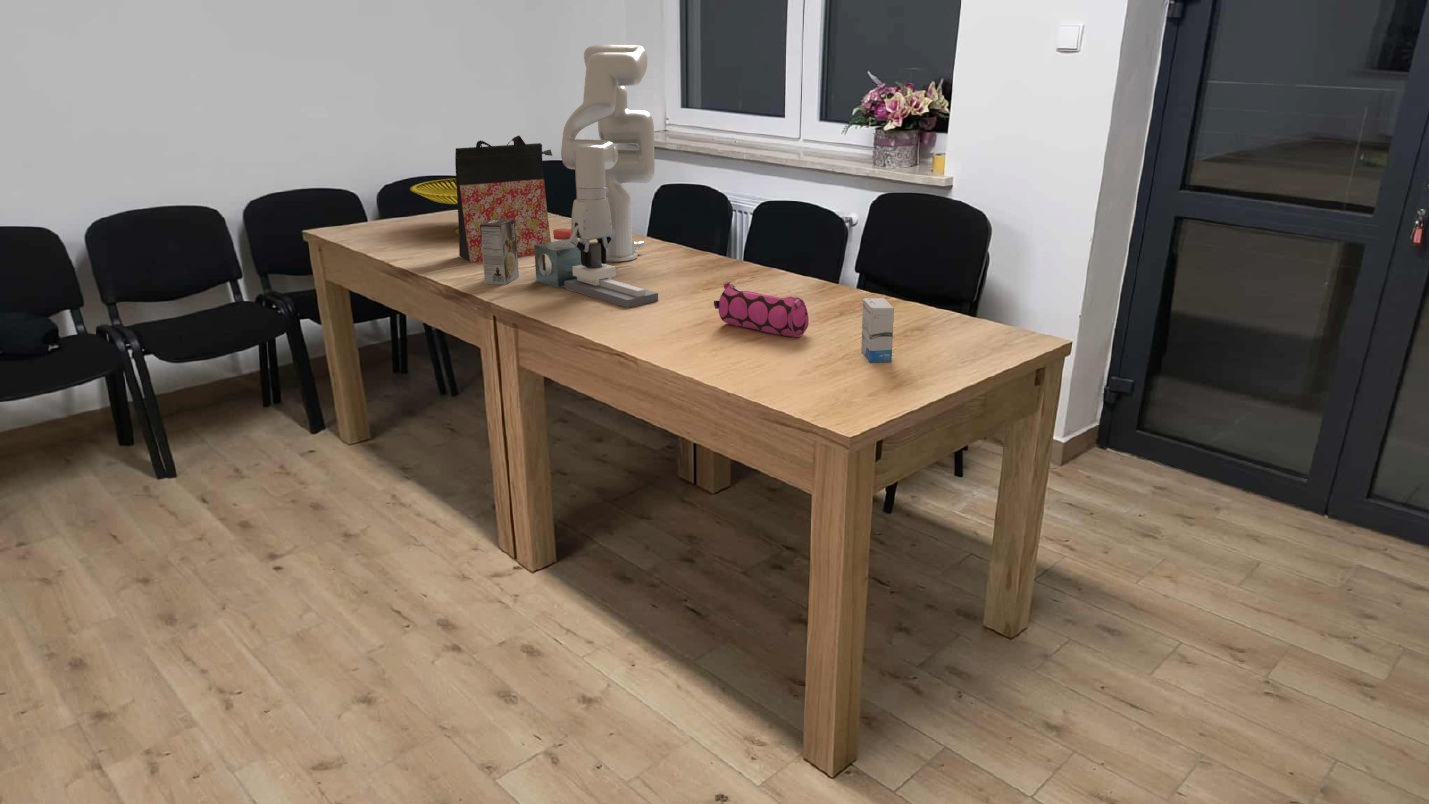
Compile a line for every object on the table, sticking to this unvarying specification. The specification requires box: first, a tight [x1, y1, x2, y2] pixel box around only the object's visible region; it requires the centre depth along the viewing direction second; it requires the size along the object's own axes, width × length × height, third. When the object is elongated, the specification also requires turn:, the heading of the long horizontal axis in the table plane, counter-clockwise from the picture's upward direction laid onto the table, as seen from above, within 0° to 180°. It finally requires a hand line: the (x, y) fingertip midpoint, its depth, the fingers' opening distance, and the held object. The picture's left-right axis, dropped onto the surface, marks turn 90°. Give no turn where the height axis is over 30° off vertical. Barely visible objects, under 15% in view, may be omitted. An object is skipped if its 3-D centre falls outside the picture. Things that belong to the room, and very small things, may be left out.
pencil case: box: [713, 281, 809, 339], centre depth 224 cm, size 21×10×10 cm, turn 56°
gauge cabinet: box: [534, 239, 582, 289], centre depth 264 cm, size 13×10×10 cm
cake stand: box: [410, 178, 459, 235], centre depth 326 cm, size 40×40×15 cm
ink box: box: [860, 297, 895, 363], centre depth 206 cm, size 9×5×12 cm, turn 5°
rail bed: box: [564, 278, 659, 309], centre depth 253 cm, size 10×26×4 cm, turn 44°
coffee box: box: [480, 219, 520, 285], centre depth 264 cm, size 9×6×16 cm
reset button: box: [552, 228, 572, 241], centre depth 262 cm, size 5×5×2 cm
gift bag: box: [454, 135, 553, 263], centre depth 290 cm, size 29×14×35 cm, turn 122°
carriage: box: [572, 241, 617, 286], centre depth 255 cm, size 8×8×10 cm
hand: (593, 263), depth 255 cm, fingers open, 4 cm apart
